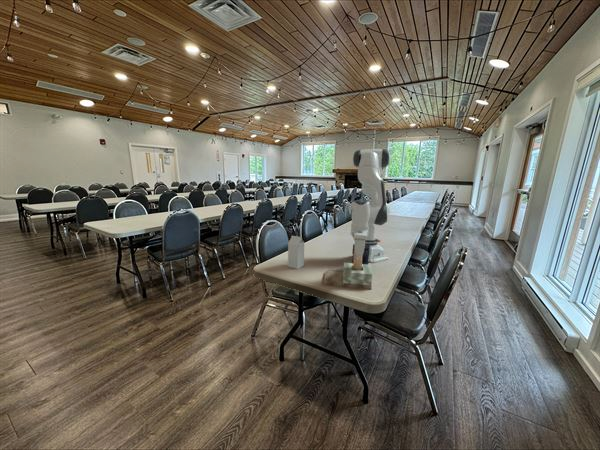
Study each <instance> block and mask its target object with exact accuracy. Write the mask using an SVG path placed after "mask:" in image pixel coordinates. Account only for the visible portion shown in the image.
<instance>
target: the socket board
mask: <svg viewBox="0 0 600 450" xmlns="http://www.w3.org/2000/svg"><path fill="white" fill-rule="evenodd" d="M322 281H323V282H322V285H323V286H331V287H332V286H333V287H340V288H341V287H342V288H350V289H351V288H353V289H365V290H372V283H373V282H372V281H373V272H372V267H371V264H369V265H368V264H362V269H361V270H353V263H352V262H343V271H338V270H337V271H333V270H325V273H324V277H323V280H322Z"/></svg>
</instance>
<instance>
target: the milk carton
mask: <svg viewBox="0 0 600 450" xmlns="http://www.w3.org/2000/svg"><path fill="white" fill-rule="evenodd" d="M287 243H288V244H287V245H288V246H287V250H288V251H287V255H288V256H287V266H288V267H289V268H291V269H297V270H299V269H300V268H302V267H304V266H305V241H304V240H303V238H302V237H301V236H297V235H296V236H295V235H291V237H290V240H289V241H288V242H287Z"/></svg>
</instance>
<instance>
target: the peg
mask: <svg viewBox="0 0 600 450" xmlns="http://www.w3.org/2000/svg"><path fill="white" fill-rule="evenodd" d="M356 256H357V255H356V254H355V245H354V259H353V258H352V260H353V270H361V269H362V255H361V256H360V260H357V259H356Z"/></svg>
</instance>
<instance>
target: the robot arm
mask: <svg viewBox="0 0 600 450" xmlns="http://www.w3.org/2000/svg"><path fill="white" fill-rule="evenodd" d="M390 152H391V151H390V150H389V149H385V148H382V149H380V148H367V149H358V150H356V151H355V152H354V153H353V156H352V163H353V166H354V167H356V168H358V170H357V179H358V181H359V183H360V184H361V192H362V193H363V195H365V196H367V197H368V198H370V200H367V199H357V200H354V201H352V202H351V203H350V205H349V206H348V212H349V214H350V219H351V220H352V221H351V225H350V236H352V239H353V240H354V241H353V242H354V244H355V254H356V255H357V256H356V259H357V260H360V256H361V255H363V252H364V247H365V244H367V245H369V246H370V253H369V259H368V262H369V263H374V264H375V263H379V262H383V261H387V260H388V259H389V257H388V255H386V254H385V249H384V247H382V246H381V245H379V244H378V243H381V239H380V238H377V227H376V225H377V226H383V225H385V224H386V223H387V222H388V219H389V216H390V212H391V208H390V205H389V204H388V203H387V198H386V196H387V195H386V189H385V181H384V179H383V178H382V177H381V170H383V169H384V168H386V167H388V166H389V165H390V162H391V160H392V156H391V153H390Z"/></svg>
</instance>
